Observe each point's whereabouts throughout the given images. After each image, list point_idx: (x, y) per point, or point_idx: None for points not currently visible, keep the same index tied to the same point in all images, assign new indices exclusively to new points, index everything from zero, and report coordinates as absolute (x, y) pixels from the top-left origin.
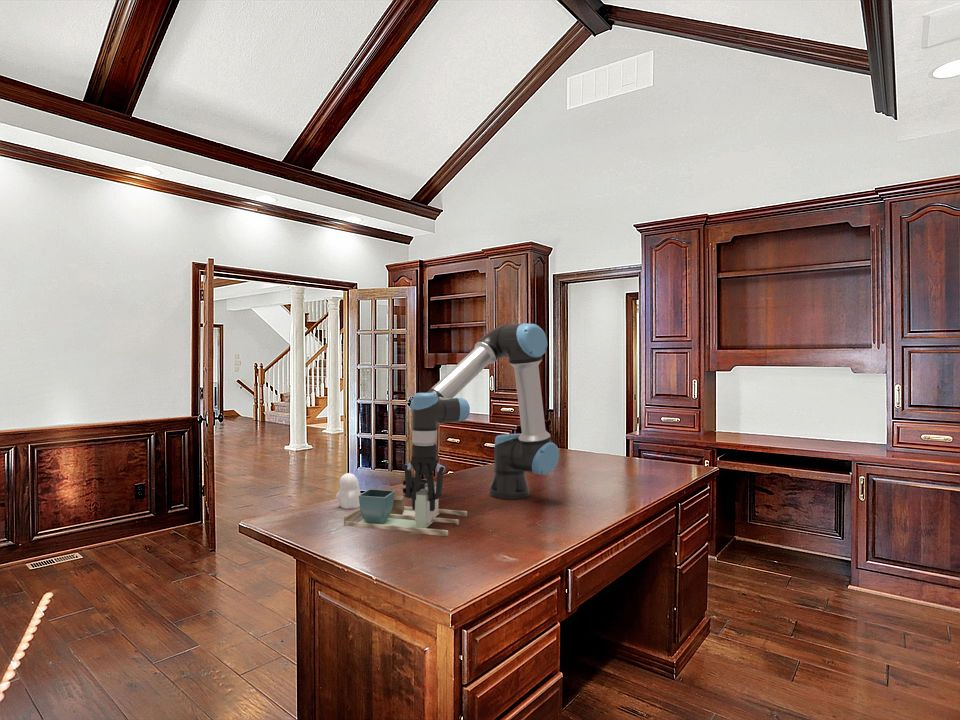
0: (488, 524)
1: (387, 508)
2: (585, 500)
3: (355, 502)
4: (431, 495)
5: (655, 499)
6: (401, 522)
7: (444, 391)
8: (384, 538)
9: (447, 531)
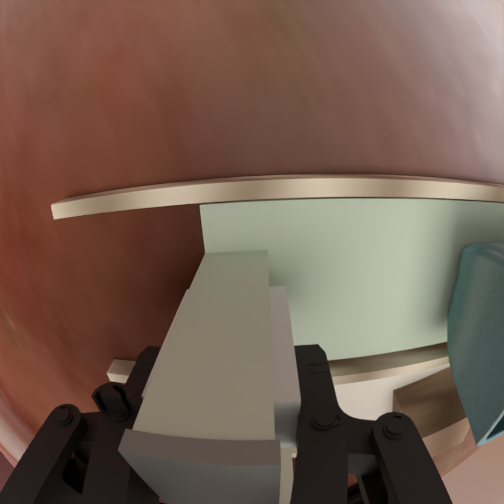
0: (49, 374)
1: (485, 307)
2: None
3: None
4: (104, 440)
5: (8, 459)
6: (378, 311)
7: None
8: (372, 46)
9: (52, 206)
